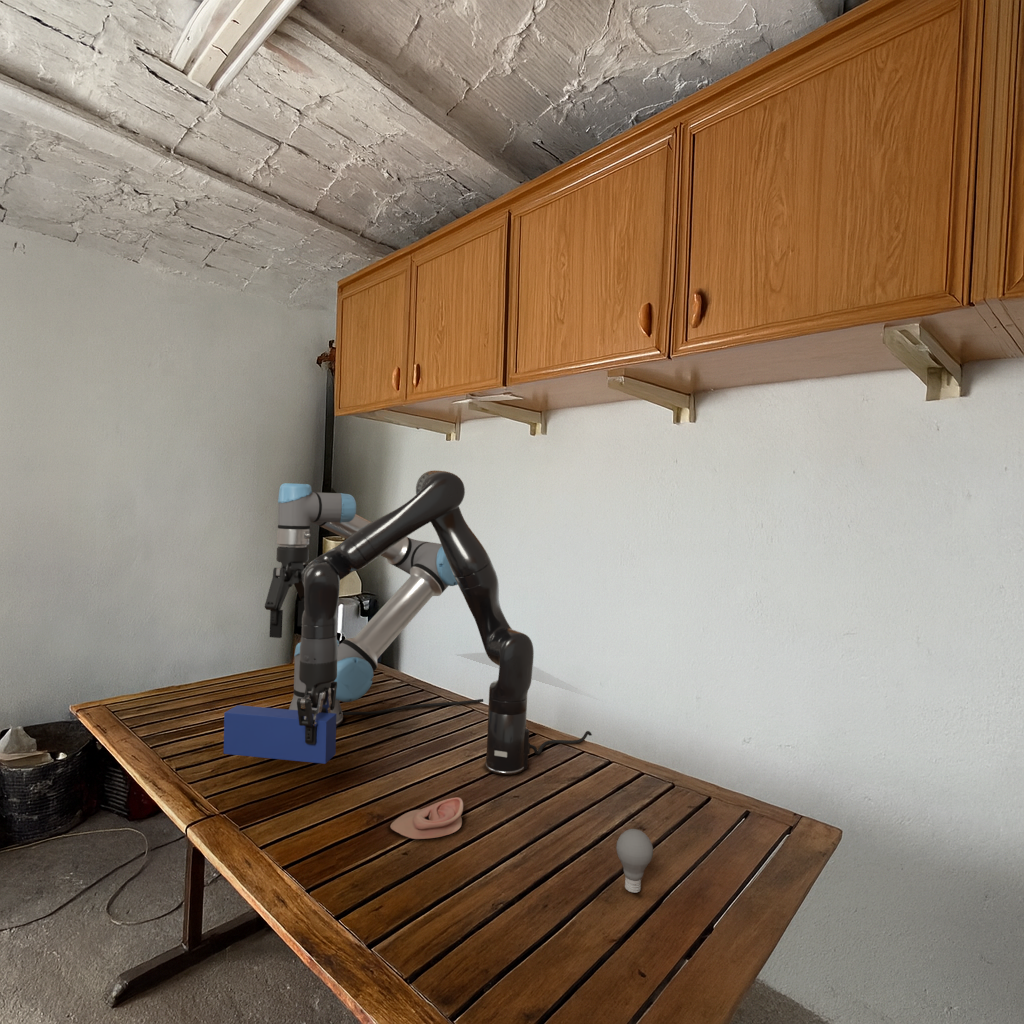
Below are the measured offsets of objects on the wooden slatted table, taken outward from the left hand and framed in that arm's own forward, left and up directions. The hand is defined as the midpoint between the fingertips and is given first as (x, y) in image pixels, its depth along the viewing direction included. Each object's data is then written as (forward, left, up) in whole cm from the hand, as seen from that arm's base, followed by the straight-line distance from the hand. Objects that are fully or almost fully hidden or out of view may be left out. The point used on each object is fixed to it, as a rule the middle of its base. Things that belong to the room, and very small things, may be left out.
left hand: (289, 631), depth 156 cm
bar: (+14, +20, -21) cm, 32 cm away
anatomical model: (+1, +52, -29) cm, 60 cm away
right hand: (+10, +27, -16) cm, 33 cm away
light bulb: (-8, +92, -29) cm, 97 cm away
